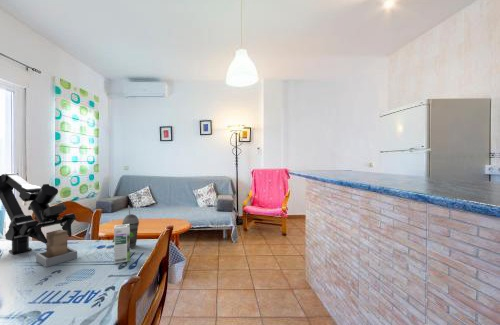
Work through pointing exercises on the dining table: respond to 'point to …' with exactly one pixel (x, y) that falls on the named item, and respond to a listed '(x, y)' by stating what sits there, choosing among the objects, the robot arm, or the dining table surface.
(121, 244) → the syrup box
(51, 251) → the handle block
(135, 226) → the beverage cup
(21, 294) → the dining table surface
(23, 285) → the dining table surface
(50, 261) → the bin
